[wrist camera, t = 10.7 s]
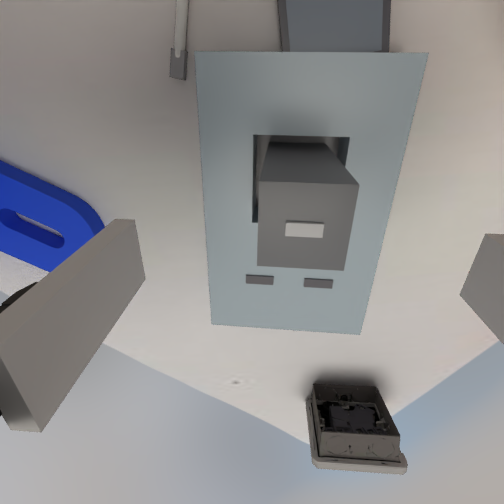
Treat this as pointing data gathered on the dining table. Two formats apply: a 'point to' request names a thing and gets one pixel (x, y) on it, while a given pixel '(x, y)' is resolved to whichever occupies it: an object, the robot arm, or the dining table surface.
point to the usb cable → (179, 42)
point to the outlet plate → (299, 131)
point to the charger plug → (304, 207)
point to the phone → (335, 25)
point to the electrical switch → (353, 431)
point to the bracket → (42, 219)
